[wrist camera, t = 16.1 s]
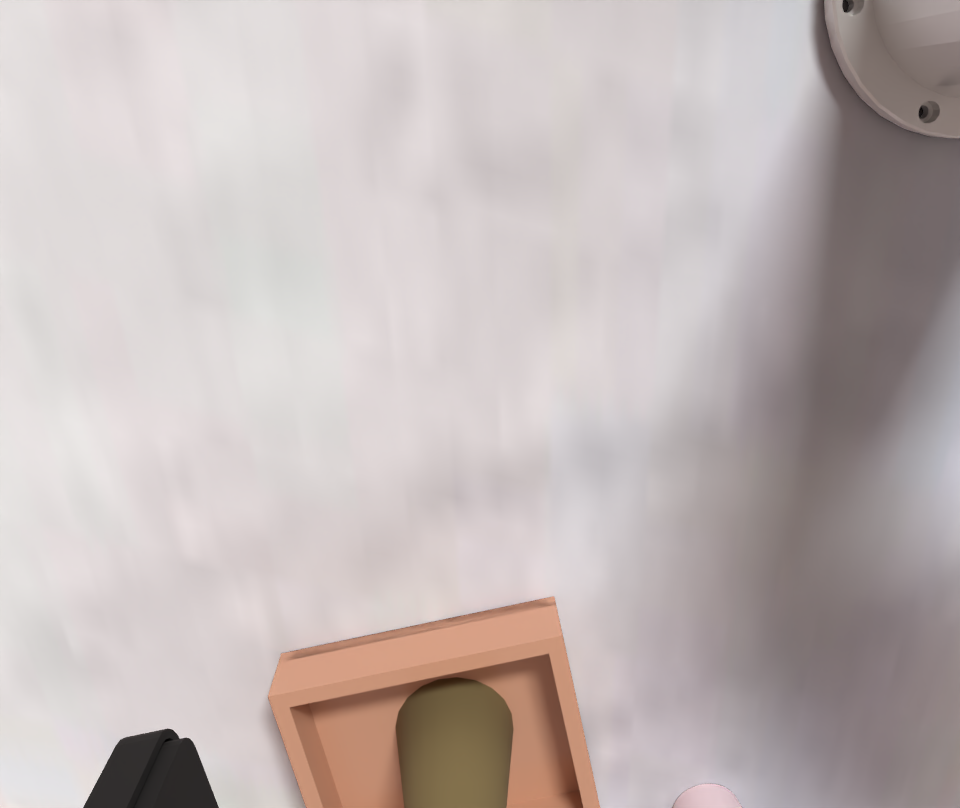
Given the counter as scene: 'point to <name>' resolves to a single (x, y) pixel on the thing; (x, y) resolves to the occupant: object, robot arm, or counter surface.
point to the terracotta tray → (416, 662)
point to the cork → (454, 746)
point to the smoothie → (707, 797)
